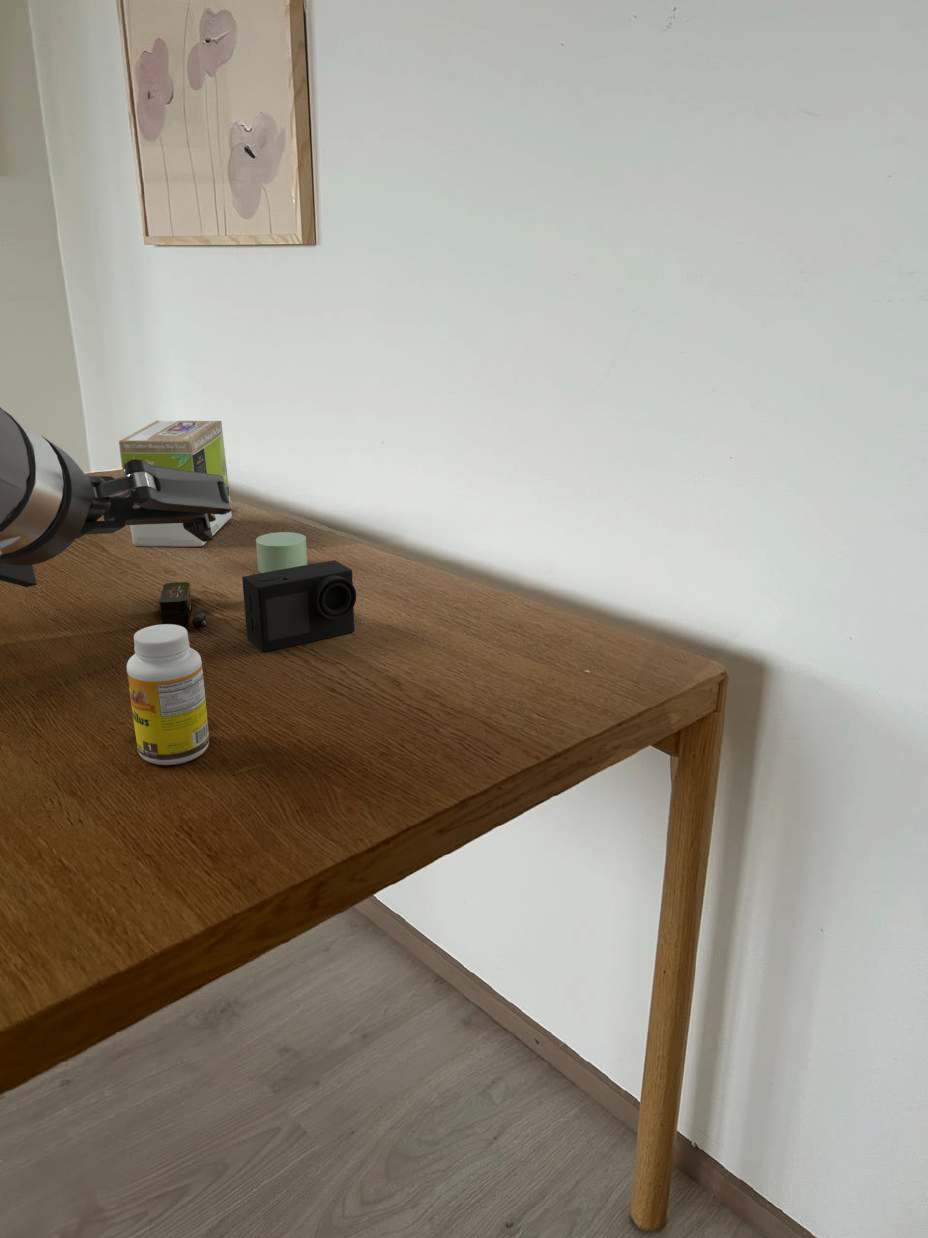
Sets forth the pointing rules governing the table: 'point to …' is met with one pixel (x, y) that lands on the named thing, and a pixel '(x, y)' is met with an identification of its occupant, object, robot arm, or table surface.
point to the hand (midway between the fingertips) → (116, 546)
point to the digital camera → (299, 604)
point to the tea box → (181, 450)
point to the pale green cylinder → (280, 551)
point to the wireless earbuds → (179, 606)
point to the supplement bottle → (167, 696)
